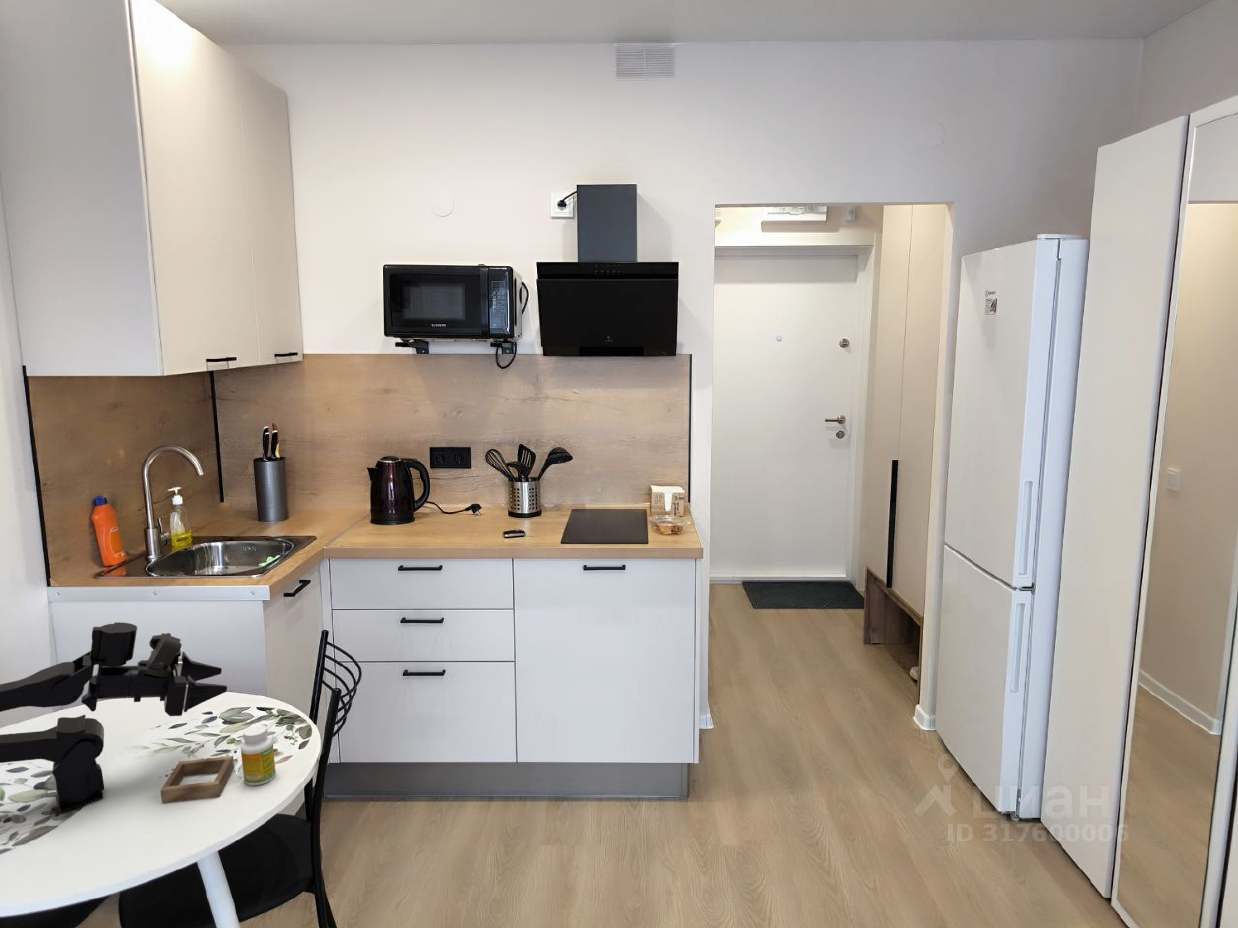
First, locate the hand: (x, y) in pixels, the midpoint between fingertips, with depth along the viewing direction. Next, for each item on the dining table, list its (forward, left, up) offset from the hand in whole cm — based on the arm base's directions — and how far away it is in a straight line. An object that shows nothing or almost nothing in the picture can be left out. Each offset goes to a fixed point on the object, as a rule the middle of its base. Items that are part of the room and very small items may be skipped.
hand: (224, 679), depth 154 cm
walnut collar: (-7, -6, -16) cm, 19 cm away
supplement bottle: (+2, -11, -16) cm, 20 cm away
